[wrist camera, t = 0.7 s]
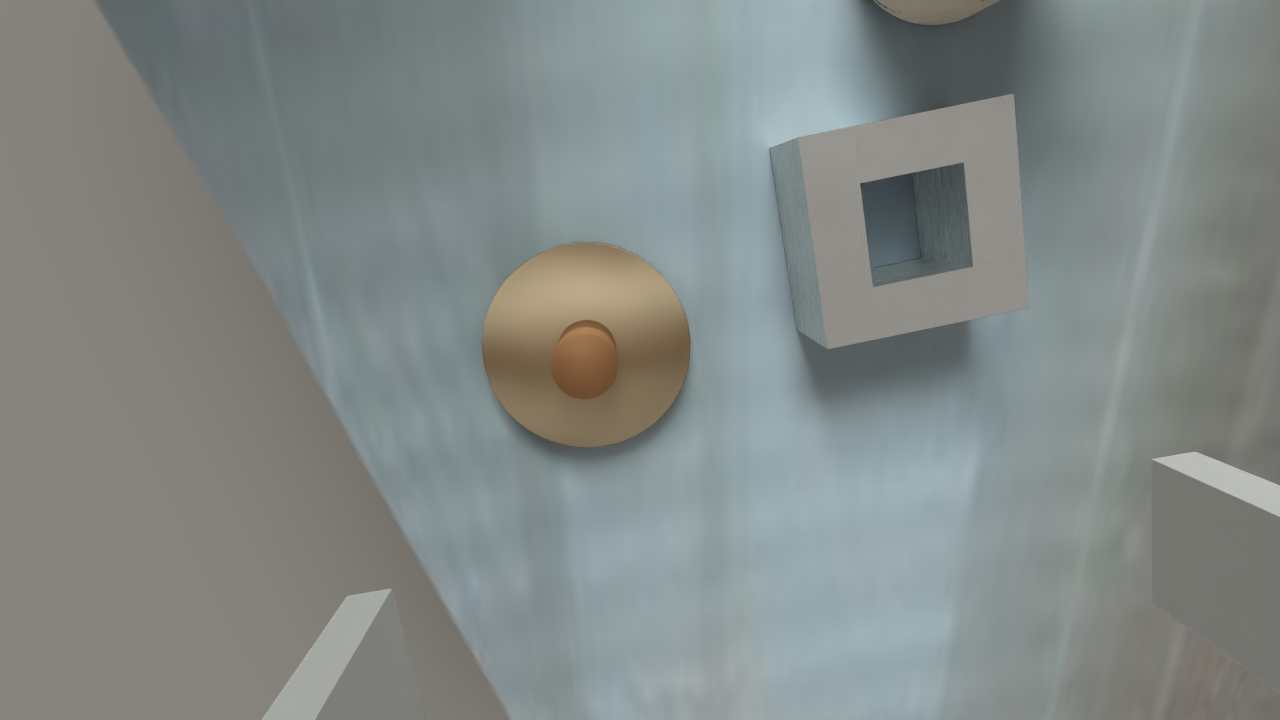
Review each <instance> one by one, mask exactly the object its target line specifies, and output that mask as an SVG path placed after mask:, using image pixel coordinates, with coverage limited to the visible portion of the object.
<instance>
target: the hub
mask: <svg viewBox="0 0 1280 720" xmlns="http://www.w3.org/2000/svg"><path fill="white" fill-rule="evenodd" d="M482 353H483V361H484V366H485V371H486V374H487V377H488V380H489V383H490V385H491V387H492V389H493V391H494V393H495V395H496V396H497V398H498V399H499V401H500V402H501V404H502V406H503V407H504V408H505V409H506V410H507V411H508V412H509V414H510V415H511V416H512V417H513V418H514V419H516V420H517V421H518V422H519V423H520V424H521V425H523V426H524V427H525V428H527V429H528V430H530V431H531V432H533V433H535V434H537V435H539V436H541V437H542V438H545V439H547V440H550V441H553V442H555V443H559V444H563V445H568V446H575V447H599V446H606V445H611V444H615V443H618V442H622V441H624V440H627V439H629V438H631V437H634V436H635V435H637V434H639V433H641V432H642V431H644V430H646V429H647V428H648V427H650V426H651V425H652V424H654V423H655V422H656V421H657V420H658V419H659V418H660V417H661V416H662V415H663V414H664V413H665V412H666V411H667V410H668V408H669V407H670V406H671V405H672V403H673V402H674V400H675V398H676V397H677V395H678V393H679V392H680V389H681V387H682V385H683V382H684V380H685V377H686V373H687V370H688V365H689V359H690V334H689V327H688V323H687V319H686V315H685V312H684V310H683V308H682V305H681V303H680V301H679V299H678V297H677V295H676V294H675V292H674V290H673V289H672V288H671V286H670V285H669V284H668V282H667V281H666V280H665V279H664V277H663V276H662V275H661V274H660V273H659V272H658V271H657V270H656V269H655V268H654V267H653V266H651V265H650V264H649V263H647V262H646V261H645V260H644V259H642V258H640V257H639V256H637V255H635V254H633V253H632V252H629V251H627V250H624V249H622V248H620V247H616V246H612V245H609V244H603V243H596V242H577V243H570V244H564V245H561V246H557V247H553V248H551V249H549V250H546V251H544V252H541V253H540V254H538V255H536V256H535V257H533V258H531V259H529V260H528V261H526V262H525V263H524V264H523V265H521V266H520V267H519V268H518V269H516V270H515V271H514V272H513V273H512V274H511V275H510V276H509V277H508V278H507V279H506V280H505V282H504V283H503V284H502V286H501V287H500V289H499V290H498V291H497V293H496V295H495V297H494V299H493V301H492V302H491V305H490V307H489V310H488V313H487V315H486V319H485V324H484V328H483V337H482Z"/></svg>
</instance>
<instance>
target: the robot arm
mask: <svg viewBox="0 0 1280 720" xmlns="http://www.w3.org/2000/svg"><path fill="white" fill-rule="evenodd" d="M1152 603H1153V604H1155V605H1156V606H1157V607H1159V608H1160V609H1162V610H1163V611H1164V612H1166V613H1167V614H1169V615H1170V616H1171V617H1173V618H1174V619H1176V620H1177V621H1178V622H1180V623H1181V624H1183V625H1184V626H1185V627H1187V628H1188V629H1190V630H1191V631H1192V632H1194V633H1195V634H1197V635H1198V636H1199V637H1201V638H1202V639H1204V640H1205V641H1206V642H1208V643H1209V644H1211V645H1212V646H1213V647H1215V648H1216V649H1218V650H1219V651H1220V652H1222V653H1223V654H1225V655H1226V656H1227V657H1229V658H1230V659H1232V660H1233V661H1234V662H1236V663H1237V664H1239V665H1240V666H1241V667H1243V668H1244V669H1246V670H1247V671H1248V672H1250V673H1251V674H1253V675H1254V676H1255V677H1257V678H1258V679H1260V680H1261V681H1262V682H1264V683H1265V684H1267V685H1268V686H1269V687H1271V688H1272V689H1274V690H1275V691H1276V692H1278V693H1279V694H1280V486H1279V485H1277V484H1274V483H1272V482H1269V481H1267V480H1264V479H1262V478H1260V477H1257V476H1255V475H1252V474H1250V473H1247V472H1245V471H1242V470H1240V469H1237V468H1235V467H1232V466H1230V465H1227V464H1225V463H1222V462H1220V461H1217V460H1215V459H1212V458H1210V457H1207V456H1205V455H1202V454H1200V453H1197V452H1191V453H1185V454H1179V455H1173V456H1167V457H1161V458H1156V459H1152ZM262 720H427V719H426V715H425V712H424V708H423V704H422V700H421V696H420V693H419V689H418V685H417V682H416V678H415V674H414V670H413V666H412V662H411V659H410V655H409V651H408V648H407V644H406V640H405V636H404V632H403V628H402V625H401V621H400V617H399V613H398V610H397V606H396V602H395V598H394V594H393V591H392V589H386V590H380V591H374V592H368V593H362V594H357V595H351V596H347V597H346V599H345V600H344V601H343V603H342V604H341V606H340V607H339V609H338V610H337V611H336V613H335V614H334V616H333V617H332V619H331V620H330V622H329V623H328V625H327V626H326V628H325V629H324V630H323V632H322V633H321V635H320V636H319V637H318V639H317V641H316V642H315V643H314V645H313V646H312V648H311V649H310V651H309V652H308V653H307V655H306V656H305V658H304V659H303V661H302V662H301V664H300V665H299V666H298V668H297V670H296V671H295V672H294V674H293V675H292V677H291V678H290V680H289V681H288V682H287V684H286V685H285V687H284V688H283V690H282V691H281V692H280V694H279V695H278V697H277V698H276V700H275V701H274V703H273V704H272V705H271V707H270V708H269V710H268V711H267V713H266V714H265V716H264V717H263V718H262Z"/></svg>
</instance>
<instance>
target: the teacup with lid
mask: <svg viewBox="0 0 1280 720" xmlns="http://www.w3.org/2000/svg"><path fill="white" fill-rule="evenodd" d="M873 1H874V2H875V3H876V4H877V5H879V6H880V7H881V8H882V9H884V10H885V11H887V12H888V13H890V14H891V15H893V16H895V17H897V18H899V19H902V20H905V21H907V22H911V23H915V24H922V25H943V24H948V23H953V22H956V21H960V20H963V19H965V18H968V17H970V16H972V15H974V14H976V13H978V12H980V11H982V10H983V9H985V8H987V7H989V6H991V5H993V4H995V3H997V2H999V1H1001V0H873Z"/></svg>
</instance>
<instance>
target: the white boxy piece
mask: <svg viewBox="0 0 1280 720" xmlns="http://www.w3.org/2000/svg"><path fill="white" fill-rule="evenodd" d="M770 155H771V162H772V168H773V175H774V182H775V188H776V195H777V202H778V208H779V215H780V222H781V228H782V235H783V242H784V248H785V255H786V262H787V268H788V275H789V281H790V288H791V295H792V301H793V308H794V315H795V321H796V328H797V330H798V331H800V332H801V333H803V334H804V335H806V336H808V337H809V338H811V339H812V340H814V341H815V342H817V343H818V344H820V345H822V346H823V347H825V348H826V349H832V348H837V347H842V346H847V345H851V344H856V343H861V342H866V341H871V340H876V339H881V338H886V337H890V336H895V335H900V334H905V333H910V332H915V331H920V330H924V329H929V328H934V327H939V326H944V325H949V324H954V323H959V322H963V321H968V320H973V319H978V318H983V317H988V316H993V315H997V314H1002V313H1007V312H1012V311H1017V310H1022V309H1027V308H1029V298H1028V284H1027V270H1026V256H1025V242H1024V228H1023V214H1022V200H1021V186H1020V172H1019V158H1018V144H1017V130H1016V116H1015V102H1014V94H1009V95H1004V96H999V97H994V98H989V99H984V100H980V101H975V102H970V103H965V104H960V105H955V106H950V107H945V108H940V109H936V110H931V111H926V112H921V113H916V114H911V115H906V116H901V117H896V118H892V119H887V120H882V121H877V122H872V123H867V124H862V125H857V126H852V127H848V128H843V129H838V130H833V131H828V132H823V133H818V134H813V135H808V136H804V137H799V138H796V139H793V140H790V141H787V142H785V143H782V144H779V145H777V146H774V147H771V148H770ZM909 173H912V178H913V187H914V196H915V206H916V215H917V225H918V234H919V244H920V253H921V258H920V259H915V260H910V261H905V262H901V263H896V264H891V265H886V266H881V267H876V268H870V260H869V251H868V243H867V235H866V227H865V219H864V211H863V203H862V194H861V186H860V183H865V182H870V181H875V180H880V179H884V178H889V177H894V176H899V175H904V174H909Z"/></svg>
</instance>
